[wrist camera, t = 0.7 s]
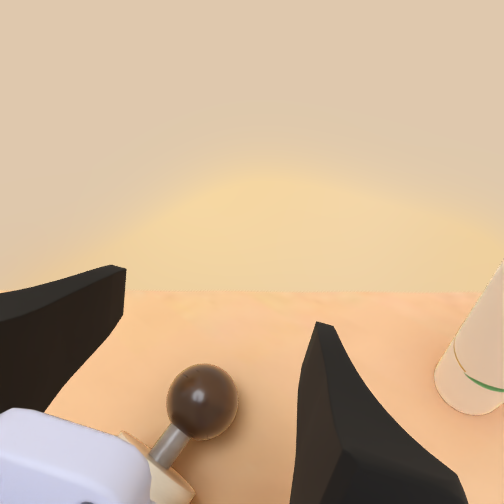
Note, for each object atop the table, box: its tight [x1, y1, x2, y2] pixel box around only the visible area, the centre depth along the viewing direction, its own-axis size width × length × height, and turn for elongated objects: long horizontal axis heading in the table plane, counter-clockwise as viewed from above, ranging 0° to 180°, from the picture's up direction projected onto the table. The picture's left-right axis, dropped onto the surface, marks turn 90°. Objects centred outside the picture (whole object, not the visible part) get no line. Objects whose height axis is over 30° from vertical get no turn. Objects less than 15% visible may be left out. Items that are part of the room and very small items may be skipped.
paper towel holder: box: [118, 364, 238, 504], centre depth 24 cm, size 7×7×13 cm
